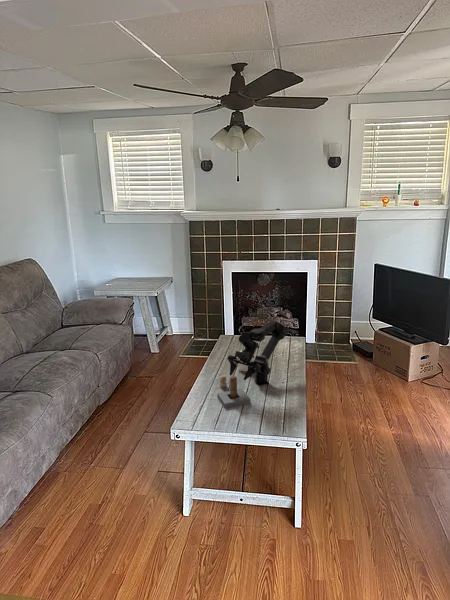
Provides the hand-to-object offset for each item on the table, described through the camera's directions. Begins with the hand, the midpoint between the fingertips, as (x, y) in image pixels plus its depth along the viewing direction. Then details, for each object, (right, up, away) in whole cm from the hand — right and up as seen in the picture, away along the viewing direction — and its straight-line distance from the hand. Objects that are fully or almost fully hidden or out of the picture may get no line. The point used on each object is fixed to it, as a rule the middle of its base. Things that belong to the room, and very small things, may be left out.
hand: (237, 377), depth 221 cm
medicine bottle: (+6, -2, +38) cm, 39 cm away
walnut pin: (-2, -12, +1) cm, 12 cm away
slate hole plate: (-2, -12, +1) cm, 12 cm away
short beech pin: (-7, -8, +16) cm, 19 cm away
